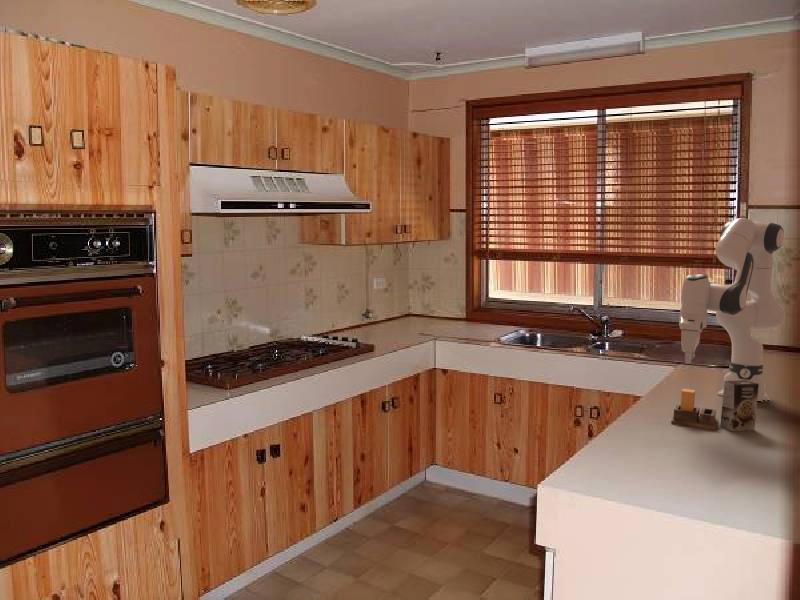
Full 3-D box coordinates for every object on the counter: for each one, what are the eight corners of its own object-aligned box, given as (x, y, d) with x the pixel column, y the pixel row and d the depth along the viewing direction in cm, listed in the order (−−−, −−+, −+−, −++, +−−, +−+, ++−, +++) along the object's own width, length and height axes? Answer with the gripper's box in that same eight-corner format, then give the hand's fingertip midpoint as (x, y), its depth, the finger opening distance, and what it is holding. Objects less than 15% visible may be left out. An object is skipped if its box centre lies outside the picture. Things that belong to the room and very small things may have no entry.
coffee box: (733, 432, 237) (736, 384, 235) (719, 426, 243) (723, 380, 241) (755, 430, 240) (759, 383, 238) (741, 424, 246) (745, 379, 244)
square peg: (681, 416, 251) (683, 388, 250) (693, 418, 249) (695, 390, 248) (679, 419, 247) (681, 390, 246) (691, 420, 246) (694, 392, 244)
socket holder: (675, 415, 256) (676, 403, 255) (717, 421, 249) (718, 409, 249) (671, 423, 245) (671, 411, 244) (715, 430, 239) (716, 417, 238)
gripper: (686, 316, 255) (683, 354, 257) (679, 324, 237) (676, 365, 239) (705, 318, 252) (702, 356, 254) (699, 326, 234) (696, 367, 236)
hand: (689, 360), depth 246 cm, fingers open, 8 cm apart
